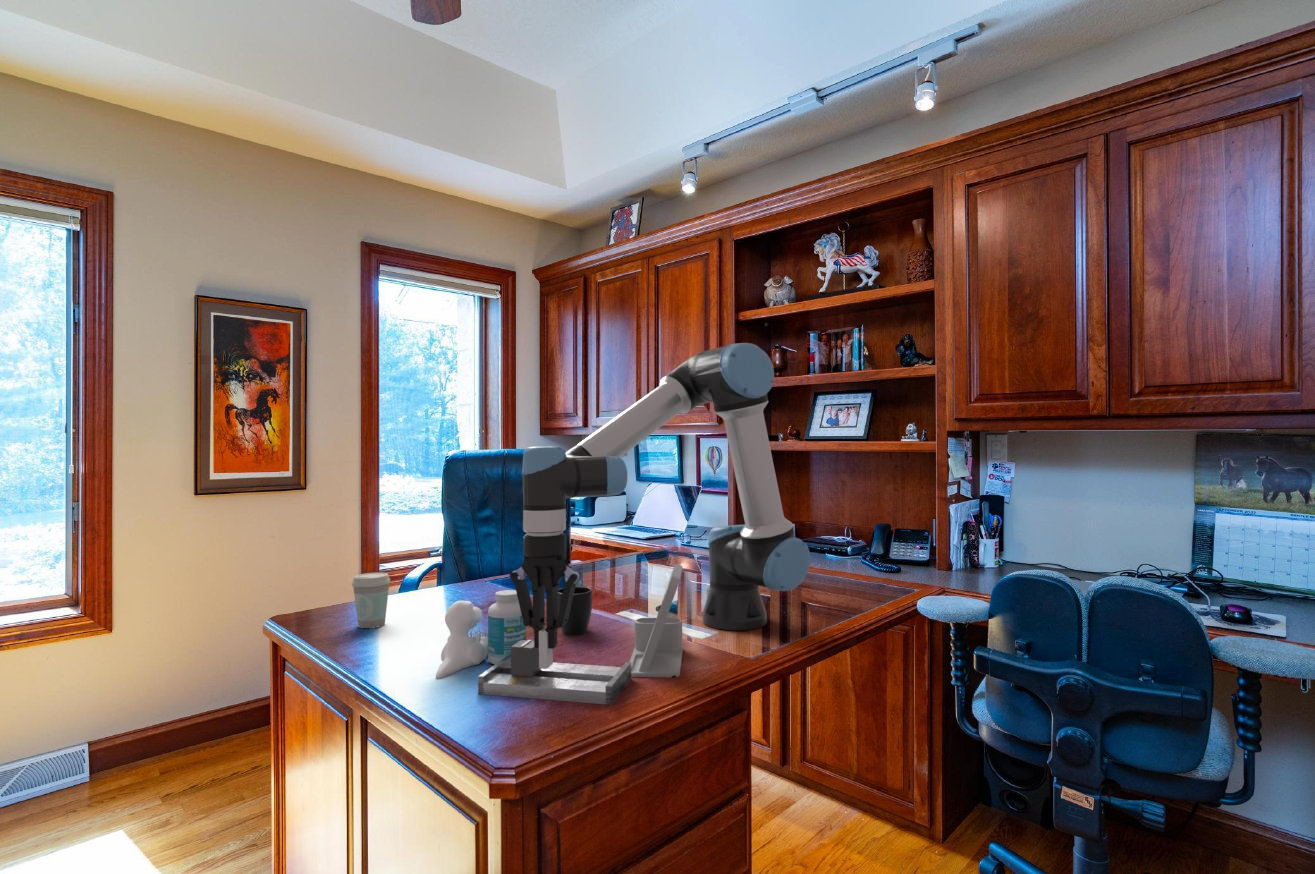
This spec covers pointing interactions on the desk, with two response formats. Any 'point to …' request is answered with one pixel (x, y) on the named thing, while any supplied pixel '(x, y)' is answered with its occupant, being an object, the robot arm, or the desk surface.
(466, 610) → the figurine
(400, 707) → the desk surface
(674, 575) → the phone holder
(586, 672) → the console
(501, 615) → the pill bottle
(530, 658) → the block
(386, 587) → the coffee cup
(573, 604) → the mug
